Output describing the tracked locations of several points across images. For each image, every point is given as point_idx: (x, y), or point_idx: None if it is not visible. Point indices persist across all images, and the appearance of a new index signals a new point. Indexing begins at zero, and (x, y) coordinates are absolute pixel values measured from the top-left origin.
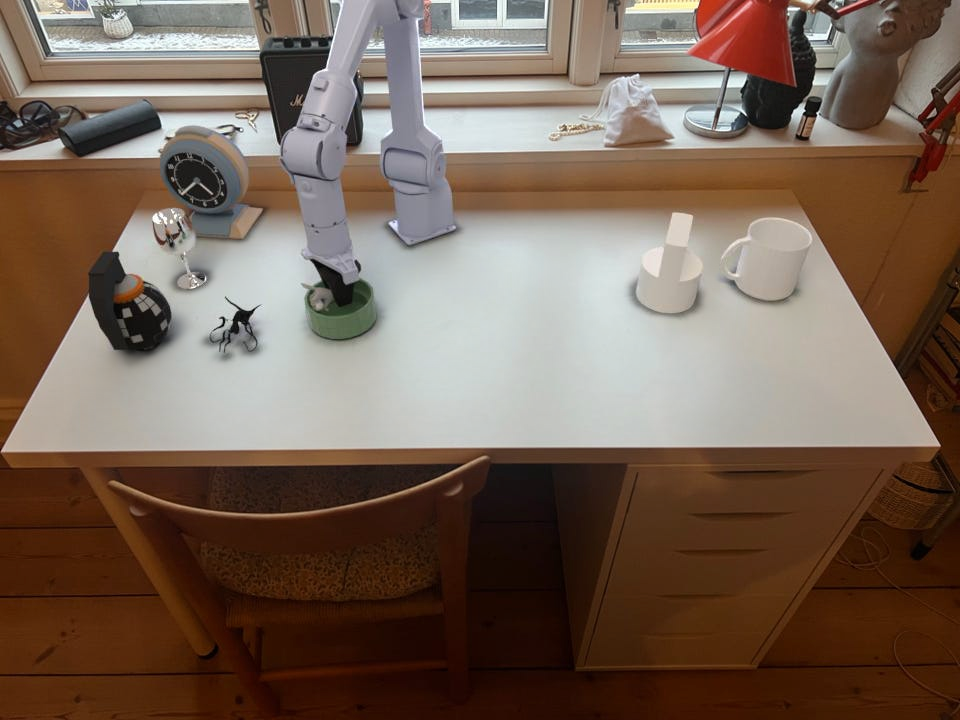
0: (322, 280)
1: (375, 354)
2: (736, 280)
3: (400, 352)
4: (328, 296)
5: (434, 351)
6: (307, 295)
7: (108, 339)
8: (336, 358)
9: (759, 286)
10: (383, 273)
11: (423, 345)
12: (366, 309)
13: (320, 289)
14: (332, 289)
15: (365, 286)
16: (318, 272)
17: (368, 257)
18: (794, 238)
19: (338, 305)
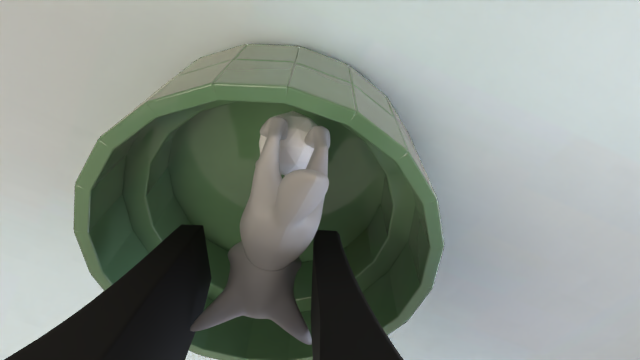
0: (326, 287)
1: (36, 184)
2: None
3: (28, 245)
4: (241, 230)
5: (11, 308)
6: (364, 136)
7: None
8: (47, 54)
9: None
10: (424, 349)
11: (46, 300)
12: None
13: (271, 236)
14: (38, 340)
15: (296, 340)
16: (362, 328)
17: (528, 350)
18: None
19: (172, 232)
